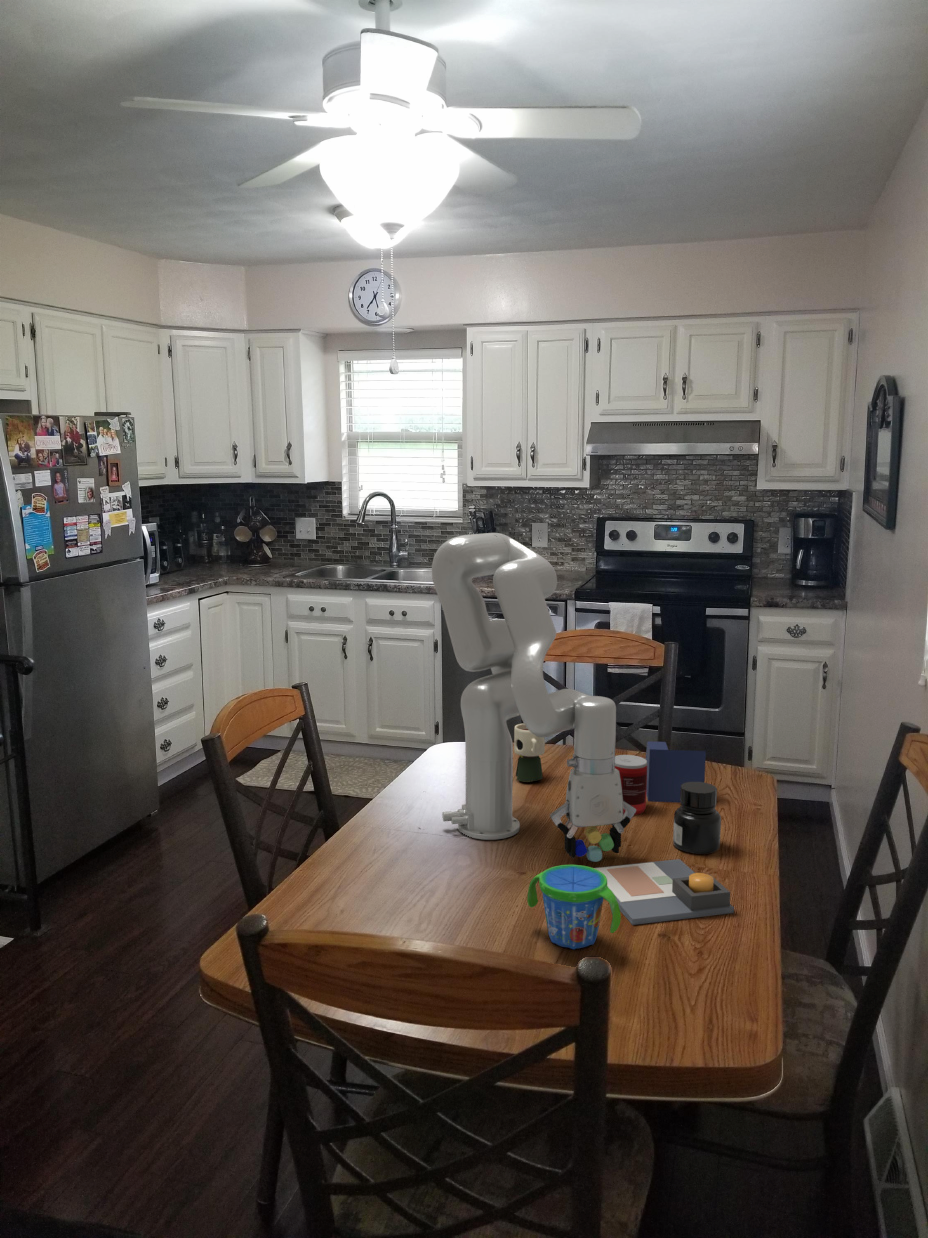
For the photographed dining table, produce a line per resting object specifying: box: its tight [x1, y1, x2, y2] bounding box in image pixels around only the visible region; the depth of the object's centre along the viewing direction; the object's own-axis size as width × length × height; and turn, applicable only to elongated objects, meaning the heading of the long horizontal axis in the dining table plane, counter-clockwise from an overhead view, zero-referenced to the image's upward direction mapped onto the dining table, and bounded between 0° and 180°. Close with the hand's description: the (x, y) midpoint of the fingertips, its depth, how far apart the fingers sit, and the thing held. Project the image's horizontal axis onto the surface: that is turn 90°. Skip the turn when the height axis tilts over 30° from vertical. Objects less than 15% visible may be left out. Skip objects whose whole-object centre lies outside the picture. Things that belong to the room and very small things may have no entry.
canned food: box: [615, 754, 647, 816], centre depth 204 cm, size 8×8×11 cm
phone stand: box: [644, 741, 707, 804], centre depth 214 cm, size 12×12×12 cm
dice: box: [576, 826, 614, 863], centre depth 178 cm, size 8×3×6 cm, turn 98°
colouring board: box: [593, 858, 735, 926], centre depth 165 cm, size 18×20×4 cm
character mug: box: [513, 722, 546, 783], centre depth 222 cm, size 11×7×13 cm, turn 10°
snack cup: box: [526, 864, 622, 950], centre depth 148 cm, size 16×10×10 cm
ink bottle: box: [672, 782, 722, 855], centre depth 184 cm, size 10×9×12 cm
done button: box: [689, 872, 715, 893], centre depth 160 cm, size 4×4×2 cm
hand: (592, 852), depth 179 cm, fingers closed on dice, 8 cm apart
